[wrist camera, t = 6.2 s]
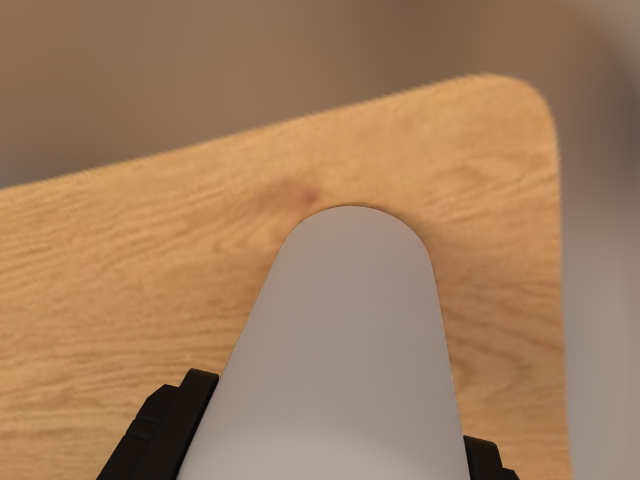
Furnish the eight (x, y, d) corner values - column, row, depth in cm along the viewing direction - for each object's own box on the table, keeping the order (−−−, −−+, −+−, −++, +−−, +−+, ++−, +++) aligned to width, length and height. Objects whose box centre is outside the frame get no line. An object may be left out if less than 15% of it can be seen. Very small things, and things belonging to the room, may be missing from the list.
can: (252, 282, 19) (85, 613, 8) (333, 169, 16) (228, 463, 6) (370, 354, 20) (350, 731, 9) (466, 260, 17) (594, 656, 6)
